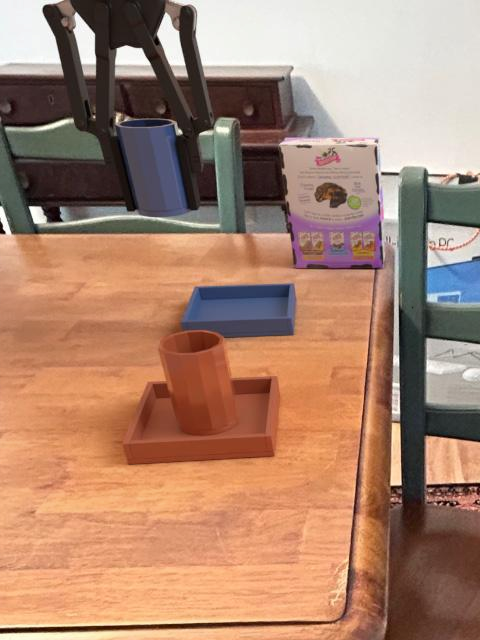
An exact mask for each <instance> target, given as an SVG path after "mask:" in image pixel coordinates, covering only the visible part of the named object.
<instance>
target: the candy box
mask: <svg viewBox="0 0 480 640" xmlns="http://www.w3.org/2000/svg"><path fill="white" fill-rule="evenodd" d="M278 153H279V154H278V155H279V161H280V167H281V174H282V182H283V183H282V184H283V191H284V199H285V206H286V213H287V214H286V215H287V221H288V228H289V237H290V244H291V253H292V262H293V264H292V265H293V268H294V269H379V268H380V269H384V266H385V262H386V242H385V212H384V194H383V193H384V192H383V181H382V165H381V145H380V138H379V137H284V139H282V140H281V142H280V143H279V144H278Z"/></svg>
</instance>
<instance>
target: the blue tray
mask: <svg viewBox="0 0 480 640" xmlns="http://www.w3.org/2000/svg"><path fill="white" fill-rule="evenodd" d="M295 287H296V286H295V283H293V282H291V283H260V284H259V283H257V284H256V283H255V284H227V285H202V286H199V285H197V286H194V287H193V290H192V293H191V295H190V298H189V300H188V303H187V305H186V308H185V310H184V313H183V316H182V318H181V320H180V326H181V330H182V332H183V331H191V330H206V331H212V332H217V333H219V334H220V335H221V336H223V337H224V338H225V339H226V338H247V337H249V338H251V337H270V336H271V337H272V336H273V337H274V336H275V337H276V336H293V335H295V320H296V309H297V308H296V307H297V306H296V305H297V295H296V293H297V292H296V288H295Z"/></svg>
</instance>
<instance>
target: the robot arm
mask: <svg viewBox="0 0 480 640" xmlns="http://www.w3.org/2000/svg"><path fill="white" fill-rule="evenodd" d="M41 10H42V15H43V17H44V19H45V21H46V22H47V25H48V26H49V28H50V31H51V33H52V34H53V36H54V38H55V43H56V47H57V53H58V57H59V61H60V66H61V70H62V75H63V80H64V83H65V87H66V93H67V97H68V101H69V105H70V106H69V107H70V110H71V114H72V119H73V123H74V126H75V128H76V129H77V130H78V131H79V132H83V133H84V132H85V133H88V134H89V135H90V134H91V135H93V136H95V137H96V139H97V140H98V142H99V145H100V150H101V153H102V158H103V161H104V165H105V169H106V171H107V172H108V174H109V175H117V177H118V180H119V185H120V188H121V193H122V197H123V200H124V204H125V208H126V212H127V213H130V212H131V213H134V212H136V211H137V210H136V207H135V206H134V202H133V198H132V193H131V189H130V185H129V181H128V177H127V173H126V169H125V165H124V161H123V157H122V153H121V149H120V145H119V141H118V137H117V135H115V132H116V129H115V98H116V97H115V96H116V95H115V94H116V93H115V91H116V59H117V54H118V53H117V52H118V49H120V48H123V47H130V48H132V49H133V48H134V49H141V50H142V52H143V53H144V56H145V58H146V60H147V61H148V62H149V64H150V66H151V69H152V71H153V73H154V75H155V78H156V79H157V81H158V84H159V86H160V88H161V90H162V92H163V95H164V97H165V99H166V101H167V103H168V105H169V107H170V109H171V112H172V114H173V116H174V118H175V121H176V122H177V126H178V128H179V129H180V132H181V134H179V137H178V138H177V139H176V142H177V146H178V151H179V156H180V161H181V166H182V171H183V176H184V181H185V186H186V191H187V196H188V201H189V206H190V211H191V212H193V211H198V210H199V209H200V207H201V205H202V203H201V197H200V192H199V185H198V182H197V181H198V180H197V175H196V174H202V173H203V170H204V166H205V165H204V160H203V154H202V153H203V152H202V148H201V142H200V135H201V134H202V133H204V132H206V131H209V130H210V129H212V127H213V125H214V124H215V117H214V113H213V109H212V104H211V99H210V94H209V89H208V86H207V81H206V77H205V72H204V67H203V63H202V58H201V54H200V50H199V49H200V48H199V45H198V44H199V43H198V40H197V26H198V25H197V24H198V23H197V22H198V10H197V8H196V7H195V5H192V4H183V3H180V2H177V1H174V0H61V1H57V2H56V3H55V2H54V3H46V4H44V5H43V6H42V8H41ZM76 14H77V15H78V16H79V17H80V18H81V20H82V21H83V22H84V23H85V24H86V26H87V27H88V28H89V29H90V31H92V33H93V34H94V55H95V110H94V111H95V114H94V116H95V117H93V113H92V107H91V104H90V98H89V92H88V88H87V85H86V79H85V74H84V69H83V65H82V59H81V56H80V55H81V54H80V50H79V47H78V41H77V37H76V34H75V31H74V30H75V29H76V28H77V21H76ZM166 14H167V15H168V16H169V17H170V21H171V25H172V27H173V28H174V30H176V31H177V32H178V36H179V38H178V39H179V43H180V44H179V45H180V48H181V52H182V57H183V61H184V65H185V71H186V74H187V78H188V83H189V88H190V91H191V96H192V100H193V104H194V109H195V113H196V114H195V115H196V117H195V118H194V115H193V114H192V111H191V109H190V107H189V104H188V102H187V100H186V97H185V96H184V93H183V91H182V89H181V87H180V84H179V83H178V80H177V78H176V75H175V73H174V71H173V68H172V66H171V65H170V64H171V63H170V62H169V60H168V58H167V55H166V52H165V48H164V46H163V44H162V42H161V40H160V38H159V35H158V33H159V30H160V27H161V25H162V22H163V20H164V17H165V15H166Z"/></svg>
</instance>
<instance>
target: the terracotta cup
mask: <svg viewBox="0 0 480 640" xmlns="http://www.w3.org/2000/svg"><path fill="white" fill-rule="evenodd" d="M157 350H158V354H159V359H160V362H161V367H162V370H163V373H164V377H165V381H166V382H167V386H168V390H169V394H170V398H171V402H172V406H173V410H174V413H175V417H176V421H177V422H178V425H179V428H180V429H181V430H182V431H184V432H186V433H188V434H192V435H213V434H218V433H222V432H224V431H227V430H229V429H231V428H232V427H234V426H235V425H236V424H237V423H238V421H239V416H238V406H237V401H236V396H235V390H234V385H233V380H232V378H233V376H232V370H231V366H230V365H231V364H230V359H229V354H228V349H227V344H226V337H225V338H224V337H223V336H221V335H220V334H219V333H217V332H212V331H206V330H191V331H183V330H182V331H180V332H179V331H178V332H175V333H172V334H169V335H166V336H165V337H164V338H161V339H160V340H159V341H158V345H157Z"/></svg>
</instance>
